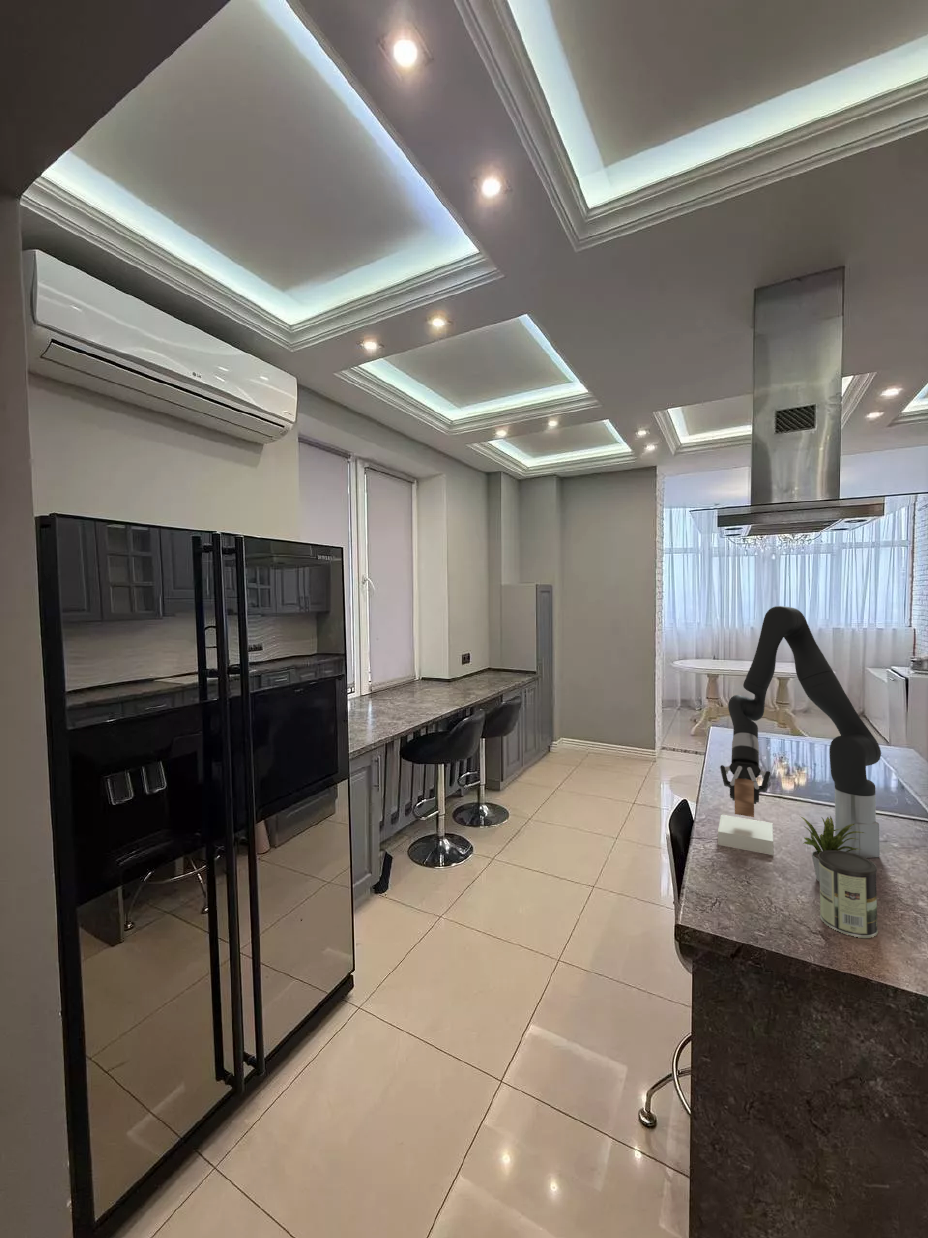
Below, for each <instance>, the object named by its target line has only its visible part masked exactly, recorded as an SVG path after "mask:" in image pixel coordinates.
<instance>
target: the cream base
mask: <svg viewBox="0 0 928 1238" xmlns="http://www.w3.org/2000/svg"><path fill="white" fill-rule="evenodd" d="M719 819H720V820H719V824H718V829H717V845H718V846H722V847H727V848H728V847H729V848H734V849H737V850H744V851H748V852H753V853H761V854H766V855H769V856H774V829H773V822H768V821H764V820H763V821H762V820H759V819H758V820H756V819H752V818H744V817H739V816H733V815H726V814H721V815H720V818H719Z"/></svg>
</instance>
